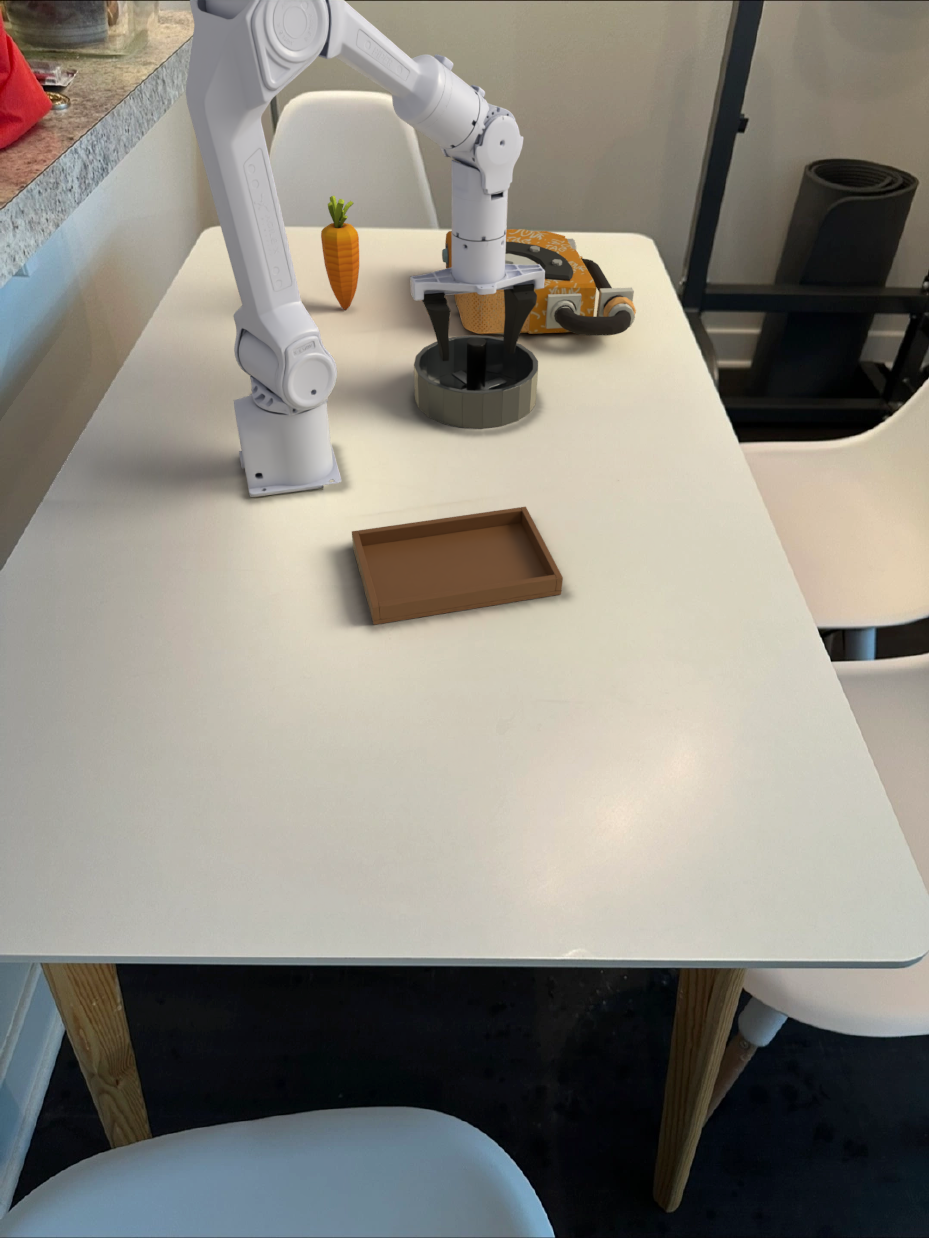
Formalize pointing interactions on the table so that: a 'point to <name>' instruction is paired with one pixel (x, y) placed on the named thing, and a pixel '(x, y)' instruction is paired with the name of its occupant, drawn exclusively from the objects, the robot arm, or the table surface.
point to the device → (550, 291)
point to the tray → (454, 564)
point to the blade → (476, 368)
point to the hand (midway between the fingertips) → (476, 353)
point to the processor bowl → (475, 408)
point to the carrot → (341, 253)
